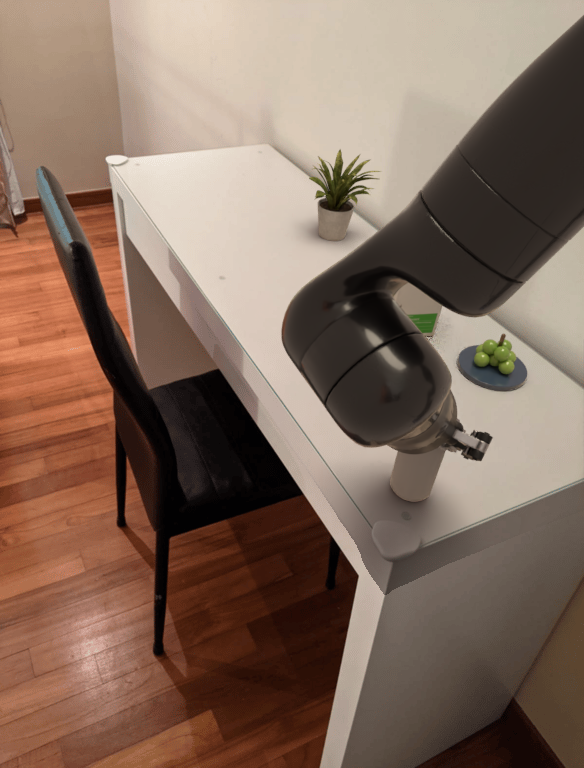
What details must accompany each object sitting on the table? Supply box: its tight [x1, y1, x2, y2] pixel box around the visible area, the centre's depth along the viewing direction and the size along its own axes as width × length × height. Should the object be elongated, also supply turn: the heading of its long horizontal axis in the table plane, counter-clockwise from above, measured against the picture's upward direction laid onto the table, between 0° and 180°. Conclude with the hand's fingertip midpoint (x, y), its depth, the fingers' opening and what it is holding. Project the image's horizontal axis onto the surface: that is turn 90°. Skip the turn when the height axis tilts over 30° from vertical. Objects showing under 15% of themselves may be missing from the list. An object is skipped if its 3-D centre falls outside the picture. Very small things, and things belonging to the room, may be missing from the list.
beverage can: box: [389, 448, 446, 503], centre depth 66 cm, size 5×5×12 cm
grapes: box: [456, 333, 528, 392], centre depth 88 cm, size 10×10×6 cm
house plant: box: [308, 148, 383, 242], centre depth 114 cm, size 14×14×16 cm
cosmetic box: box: [393, 283, 443, 337], centre depth 92 cm, size 8×7×16 cm
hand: (431, 430), depth 66 cm, fingers closed on beverage can, 5 cm apart
